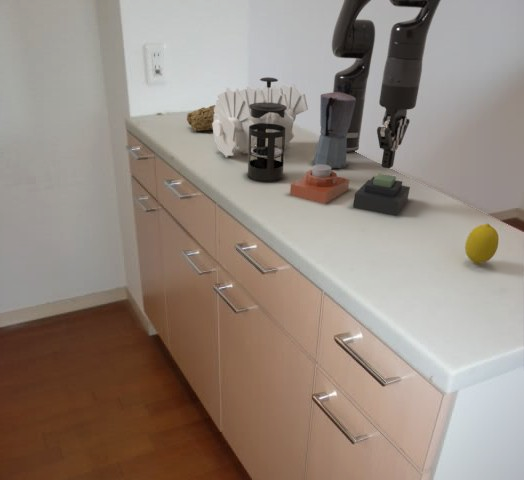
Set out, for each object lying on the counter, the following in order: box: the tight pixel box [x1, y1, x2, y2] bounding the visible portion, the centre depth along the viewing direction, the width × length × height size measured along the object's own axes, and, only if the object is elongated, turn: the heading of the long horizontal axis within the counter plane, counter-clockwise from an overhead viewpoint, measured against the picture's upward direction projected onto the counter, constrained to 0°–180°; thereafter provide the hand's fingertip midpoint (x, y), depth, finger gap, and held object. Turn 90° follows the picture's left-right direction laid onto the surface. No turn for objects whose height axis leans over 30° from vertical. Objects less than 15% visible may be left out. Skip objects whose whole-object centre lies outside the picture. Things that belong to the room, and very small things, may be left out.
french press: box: [246, 76, 287, 184], centre depth 135 cm, size 12×9×23 cm
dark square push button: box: [352, 176, 411, 217], centre depth 126 cm, size 11×10×5 cm
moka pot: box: [313, 85, 356, 169], centre depth 145 cm, size 10×15×20 cm, turn 161°
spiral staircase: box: [212, 83, 309, 159], centre depth 154 cm, size 18×18×25 cm
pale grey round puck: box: [311, 164, 332, 178], centre depth 130 cm, size 4×4×2 cm
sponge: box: [186, 104, 216, 132], centre depth 178 cm, size 13×8×20 cm
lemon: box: [464, 223, 499, 265], centre depth 101 cm, size 6×6×8 cm
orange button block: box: [289, 169, 350, 205], centre depth 131 cm, size 12×10×4 cm
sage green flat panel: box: [373, 173, 397, 188], centre depth 125 cm, size 4×4×2 cm
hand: (387, 167), depth 123 cm, fingers closed
